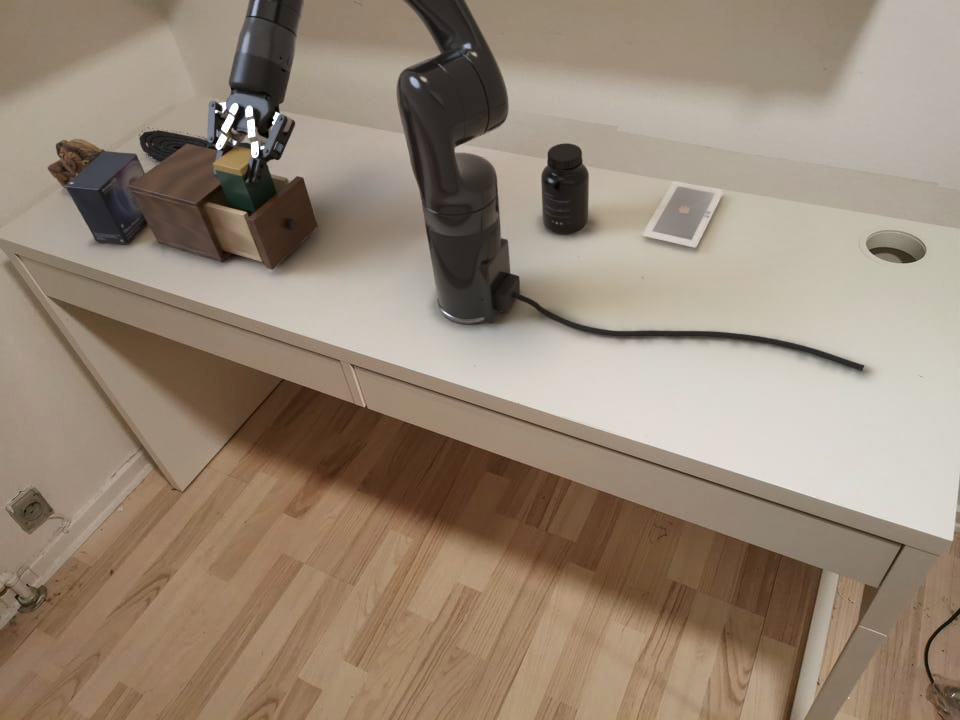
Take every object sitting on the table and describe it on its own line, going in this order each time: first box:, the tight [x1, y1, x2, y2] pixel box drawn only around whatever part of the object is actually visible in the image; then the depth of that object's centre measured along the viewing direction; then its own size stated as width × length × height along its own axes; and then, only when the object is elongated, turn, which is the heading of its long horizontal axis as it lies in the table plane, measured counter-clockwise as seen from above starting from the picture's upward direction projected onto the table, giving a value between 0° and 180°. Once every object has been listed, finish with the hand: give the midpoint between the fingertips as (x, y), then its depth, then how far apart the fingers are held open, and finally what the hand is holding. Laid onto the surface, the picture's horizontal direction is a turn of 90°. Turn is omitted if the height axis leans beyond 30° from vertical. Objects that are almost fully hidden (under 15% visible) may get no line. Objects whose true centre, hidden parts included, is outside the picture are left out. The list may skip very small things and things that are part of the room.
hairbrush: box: [138, 127, 251, 162], centre depth 129 cm, size 8×4×25 cm
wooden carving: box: [47, 138, 105, 189], centre depth 119 cm, size 16×5×10 cm, turn 70°
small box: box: [64, 150, 148, 245], centre depth 112 cm, size 11×6×10 cm, turn 166°
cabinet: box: [128, 144, 233, 263], centre depth 109 cm, size 14×13×11 cm
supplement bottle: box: [540, 142, 590, 236], centre depth 102 cm, size 7×7×12 cm
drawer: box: [202, 173, 319, 271], centre depth 105 cm, size 14×11×9 cm
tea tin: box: [213, 146, 277, 212], centre depth 100 cm, size 5×5×7 cm
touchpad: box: [641, 180, 725, 249], centre depth 103 cm, size 8×15×2 cm, turn 152°
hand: (236, 182), depth 98 cm, fingers closed on tea tin, 5 cm apart
